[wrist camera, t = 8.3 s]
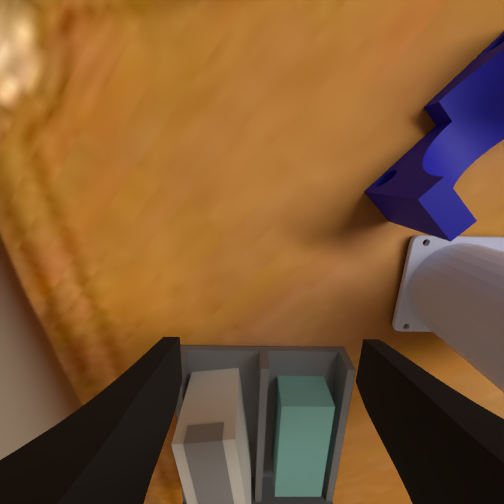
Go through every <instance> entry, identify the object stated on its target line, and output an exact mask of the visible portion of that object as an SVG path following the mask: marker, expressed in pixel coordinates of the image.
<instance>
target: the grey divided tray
mask: <svg viewBox="0 0 504 504" xmlns="http://www.w3.org/2000/svg"><path fill="white" fill-rule="evenodd" d="M180 351H181V365H182V384H181V389H180V393H179V397H178V401H177V406H176V419H177V422H178V419H179V415H180V412H181V408H182V405H183V401H184V398H185V394H186V391H187V387H188V384H189V380H190V377H191V373H192V372H199V371H210V370H221V369H231V368H239V373H240V380H241V387H242V394H243V402H244V409H245V416H246V423H247V430H248V437H249V444H250V451H251V504H333V503H332V500H333V494H334V489H335V483H336V477H337V472H338V466H339V461H340V455H341V449H342V444H343V438H344V433H345V427H346V421H347V416H348V410H349V405H350V399H351V394H352V388H353V382H354V377H355V371H356V369H355V367H354V366H353V364H352V362H351V360H350V358H349V357H348V355H347V353H346V351H345V349H344V347H283V346H199V345H181V347H180ZM277 376H324V379H325V381H326V384H327V387H328V389H329V392H330V395H331V397H332V400H333V403H334V405H335V411H334V417H333V423H332V430H331V436H330V442H329V449H328V455H327V461H326V468H325V474H324V480H323V487H322V493H321V497H275V494H274V482H273V470H272V446H273V431H274V416H275V401H276V387H277ZM182 492H183V504H187V502H186V498H185V495H184V491H183V487H182Z"/></svg>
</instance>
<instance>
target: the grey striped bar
mask: <svg viewBox="0 0 504 504" xmlns="http://www.w3.org/2000/svg"><path fill="white" fill-rule="evenodd" d="M171 446H172V450H173V453H174V457H175V461H176V465H177V468H178V472H179V476H180V480H181V483H182V487H183V491H184V495H185V498H186V502H187V504H251V451H250V444H249V437H248V430H247V423H246V416H245V409H244V402H243V394H242V387H241V380H240V373H239V368H231V369H221V370H210V371H199V372H192V373H191V377H190V380H189V384H188V387H187V391H186V394H185V398H184V401H183V405H182V408H181V412H180V415H179V419H178V422H177V426H176V430H175V433H174V437H173V440H172V444H171Z"/></svg>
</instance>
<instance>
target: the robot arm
mask: <svg viewBox="0 0 504 504" xmlns="http://www.w3.org/2000/svg"><path fill="white" fill-rule="evenodd" d="M424 240H426V243H425V244H424V245H423V241H424ZM405 324H407V325H406V326H404V325H405ZM403 326H404V327H403ZM392 327H393V328H394V329H395V330H396V331H400V332H433V333H434V334H436V335H437V336H438V337H439V338H440V339H441V340H443V341H444V342H445V343H446V344H447V345H448V346H450V347H451V348H452V349H453V350H454V351H456V352H457V353H458V354H459V355H460V356H461V357H463V358H464V359H465V360H466V361H467V362H468V363H470V364H471V365H472V366H473V367H474V368H475V369H477V370H478V371H479V372H480V373H481V374H482V375H484V376H485V377H486V378H487V379H488V380H490V381H491V382H492V383H493V384H494V385H495V386H497V387H498V388H499V389H500V390H501V391H502V392H504V237H493V236H457V237H456V238H455V239H454V240H452V241H451V242H450V241H447V240H444V239H441V238H438V237H435V236H432V235H415V236H413V237H412V238H411V240H410V243H409V248H408V252H407V257H406V261H405V266H404V271H403V275H402V280H401V285H400V289H399V294H398V298H397V303H396V308H395V312H394V317H393V322H392ZM356 383H357V386H358V389H359V392H360V395H361V397H362V400H363V403H364V405H365V408H366V410H367V412H368V414H369V416H370V418H371V420H372V422H373V424H374V426H375V428H376V430H377V432H378V434H379V436H380V438H381V440H382V442H383V444H384V446H385V448H386V450H387V452H388V454H389V456H390V457H391V459H392V461H393V463H394V465H395V467H396V469H397V471H398V473H399V475H400V477H401V479H402V481H403V483H404V486H405V488H406V490H407V492H408V494H409V496H410V499H411V501H412V503H413V504H504V419H503V418H501V417H499V416H497V415H495V414H494V413H492V412H490V411H488V410H487V409H485V408H483V407H482V406H480V405H478V404H476V403H475V402H473V401H472V400H470V399H468V398H467V397H465V396H463V395H462V394H460V393H459V392H457V391H455V390H454V389H452V388H451V387H449V386H448V385H446V384H445V383H443V382H441V381H440V380H438V379H437V378H435V377H434V376H432V375H431V374H429V373H428V372H426V371H425V370H424V369H422V368H421V367H419V366H418V365H416V364H415V363H413V362H412V361H410V360H409V359H408V358H406V357H405V356H403V355H402V354H400V353H399V352H397V351H396V350H394V349H393V348H391V347H390V346H388V345H387V344H385V343H384V342H382V341H380V340H372V339H363V345H362V350H361V356H360V361H359V367H358V372H357V378H356ZM181 384H182V365H181V351H180V337H163V338H162V339H161V340H160V341H159V342H158V343H156V344H155V345H154V346H153V347H152V348H151V349H150V350H149V351H148V352H147V353H146V354H145V355H143V356H142V357H141V358H140V359H139V360H138V361H137V362H136V363H135V364H134V365H132V366H131V367H130V368H129V369H128V370H127V371H126V372H125V373H123V374H122V375H121V376H120V377H119V378H118V379H116V380H115V381H114V382H113V383H111V384H110V385H109V386H108V387H107V388H105V389H104V390H103V391H102V392H100V393H99V394H98V395H97V396H95V397H94V398H93V399H92V400H90V401H89V402H88V403H86V404H85V405H84V406H82V407H81V408H80V409H78V410H77V411H75V412H74V413H72V414H71V415H70V416H68V417H67V418H65V419H64V420H63V421H61V422H60V423H58V424H57V425H55V426H54V427H52V428H51V429H49V430H48V431H46V432H44V433H43V434H41V435H40V436H38V437H37V438H35V439H34V440H32V441H30V442H29V443H27V444H26V445H24V446H23V447H21V448H19V449H18V450H16V451H15V452H13V453H11V454H10V455H8V456H7V457H5V458H3V459H1V460H0V504H143V503H144V500H145V496H146V493H147V490H148V486H149V483H150V480H151V477H152V474H153V471H154V469H155V466H156V463H157V460H158V457H159V455H160V452H161V449H162V446H163V443H164V440H165V438H166V435H167V432H168V429H169V426H170V423H171V421H172V418H173V415H174V412H175V409H176V406H177V401H178V397H179V393H180V389H181Z"/></svg>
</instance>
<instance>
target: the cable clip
mask: <svg viewBox="0 0 504 504" xmlns="http://www.w3.org/2000/svg"><path fill="white" fill-rule="evenodd" d="M424 108H425V110H426V111H427V113H428V114H429V115H430V117H431V118H432V120H433V121H434V123H435V124H436V126H435V127H434V128H433V129H432V130H431V131H430V132H429V133H428V134H427V135H426V136H424V137H423V138H422V139H421V140H420V141H419V142H418V143H417V144H416V145H415V146H414V147H412V148H411V149H410V150H409V151H408V152H407V153H406V154H405V155H404V156H403V157H402V158H400V159H399V160H398V161H397V162H396V163H395V164H394V165H393V166H392V167H391V168H390V169H388V170H387V171H386V172H385V173H384V174H383V175H382V176H381V177H380V178H379V179H378V180H376V181H375V182H374V183H373V184H372V185H371V186H370V187H369V188H368V189H367V190H365V191H364V192H365V193H366V194H367V196H368V197H369V198H370V199H371V200H372V201H373V203H374V204H375V205H376V206H377V207H378V209H379V210H380V211H381V212H382V213H383V215H384V216H385V217H386V218H387V219H388V220H389V221H390V222H393V223H396V224H399V225H402V226H405V227H408V228H411V229H414V230H417V231H420V232H423V233H426V234H429V235H432V236H435V237H438V238H441V239H444V240H447V241H450V242H451V241H452V240H454V239H455V238H456V237H457V236H459V235H460V234H461V233H462V232H464V231H465V230H466V229H467V228H469V227H470V226H471V225H472V224H474V223H475V222H476V219H475V218H474V217H473V215H472V214H471V212H470V211H469V210H468V208H467V207H466V206H465V204H464V203H463V202H462V200H461V199H460V198H459V196H458V195H457V193H456V192H455V191H454V189H453V187H454V185H455V183H456V181H457V180H458V178H459V177H460V176H461V175H462V173H463V172H464V171H465V170H466V169H467V168H468V167H469V166H470V165H471V164H472V163H473V162H474V161H475V160H477V159H478V158H479V157H480V156H481V155H482V154H484V153H485V152H486V151H488V150H489V149H490V148H492V147H493V146H495V145H496V144H497V143H499V142H500V141H502V140H503V139H504V32H503V33H502V34H501V35H500V36H499V37H498V38H497V39H496V40H495V41H494V42H492V43H491V44H490V45H489V46H488V47H487V48H486V49H485V50H484V51H483V52H482V53H481V54H480V55H479V56H478V57H477V58H476V59H474V60H473V61H472V62H471V63H470V64H469V65H468V66H467V67H466V68H465V69H464V70H463V71H462V72H461V73H460V74H459V75H458V76H456V77H455V78H454V79H453V80H452V81H451V82H450V83H449V84H448V85H447V86H446V87H445V88H444V89H443V90H442V91H441V92H439V93H438V94H437V95H436V96H435V97H434V98H433V99H432V100H431V101H430V102H429V103H428V104H427V105H426V106H425V107H424Z"/></svg>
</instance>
